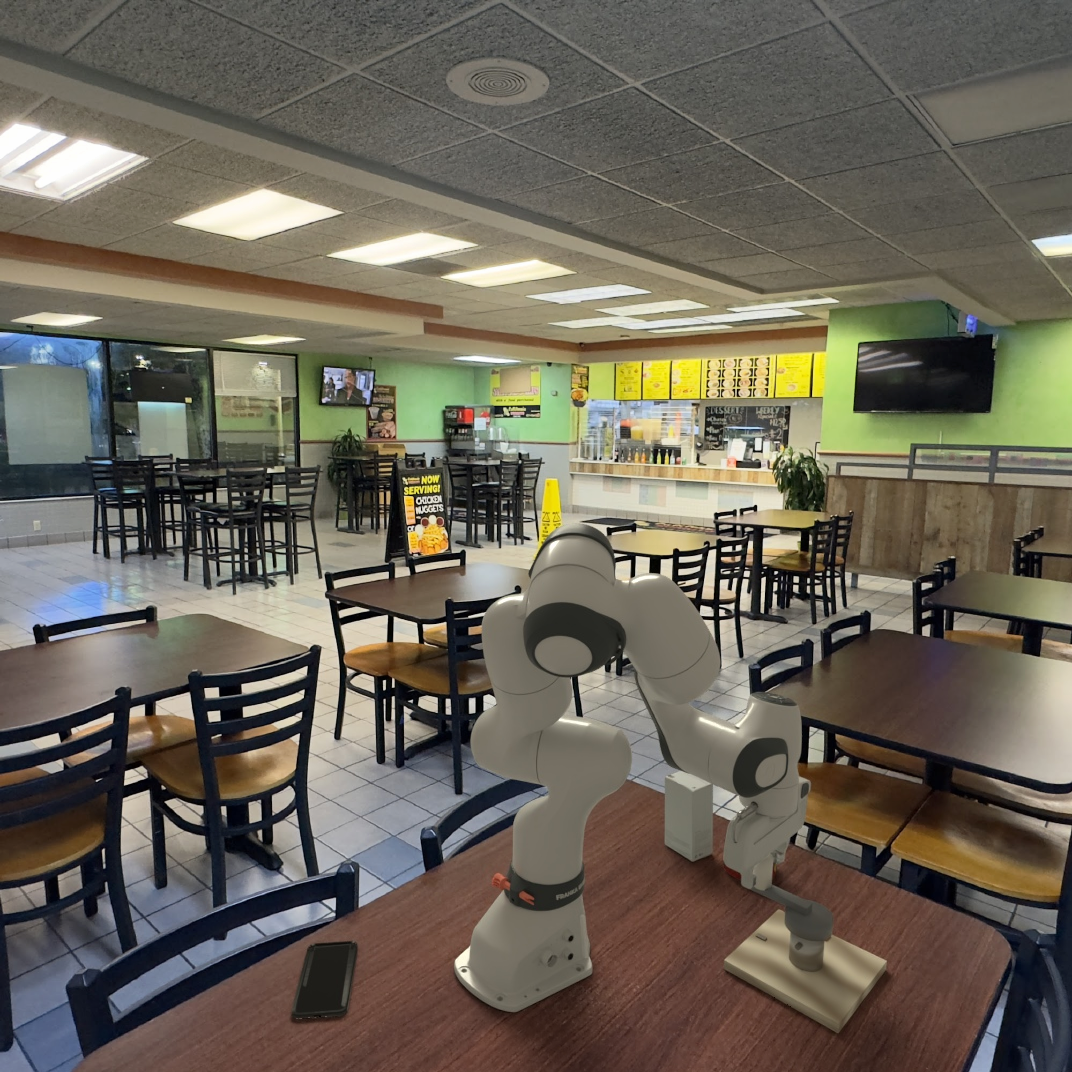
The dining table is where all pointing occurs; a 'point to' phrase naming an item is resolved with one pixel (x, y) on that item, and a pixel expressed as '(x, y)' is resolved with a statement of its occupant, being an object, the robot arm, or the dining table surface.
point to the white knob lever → (794, 906)
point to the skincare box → (689, 815)
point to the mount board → (807, 971)
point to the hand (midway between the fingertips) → (763, 873)
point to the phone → (326, 980)
